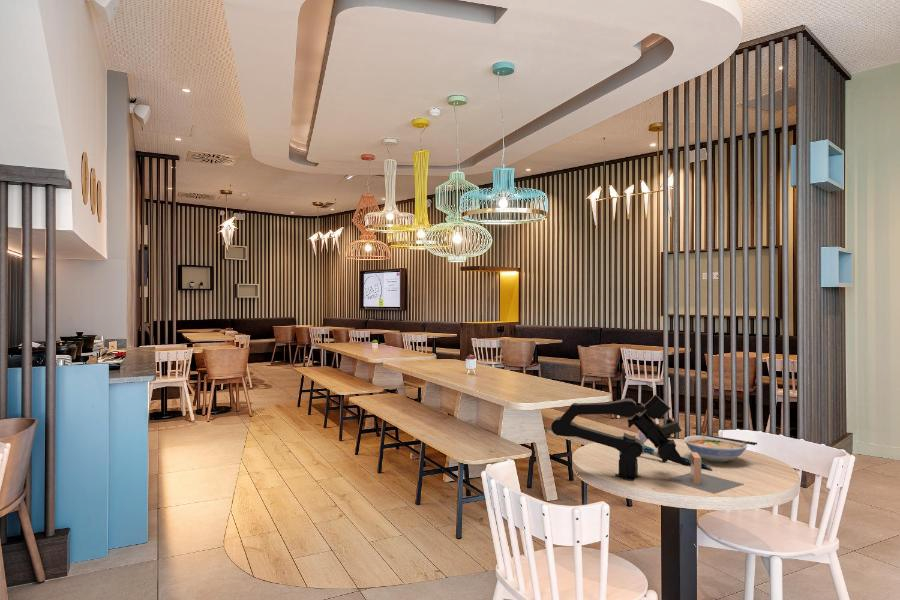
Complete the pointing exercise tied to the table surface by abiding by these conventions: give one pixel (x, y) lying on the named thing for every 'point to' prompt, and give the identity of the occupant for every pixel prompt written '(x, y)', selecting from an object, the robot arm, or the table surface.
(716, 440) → the ramen bowl
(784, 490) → the table surface
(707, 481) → the mat
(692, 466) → the tile
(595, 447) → the table surface
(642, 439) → the water lily
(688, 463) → the knife
